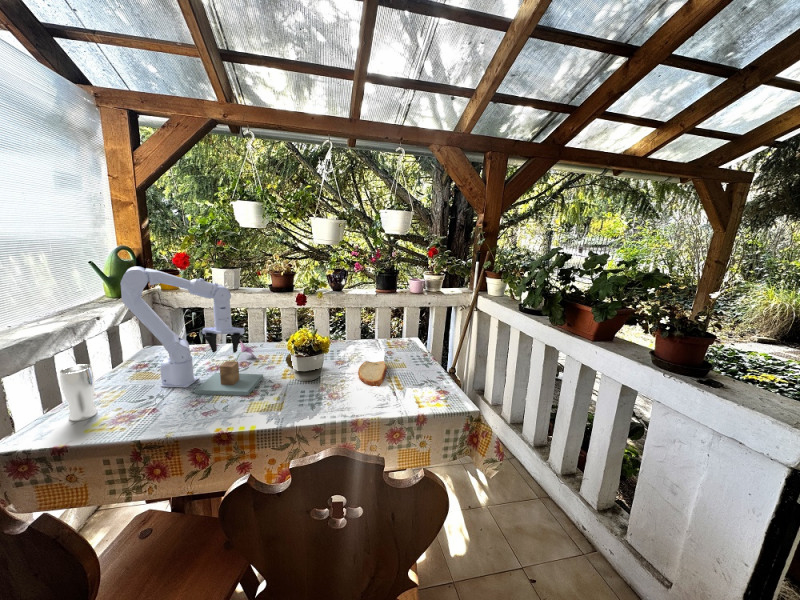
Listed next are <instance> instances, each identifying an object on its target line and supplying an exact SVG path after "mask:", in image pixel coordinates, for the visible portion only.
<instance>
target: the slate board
mask: <svg viewBox="0 0 800 600" xmlns="http://www.w3.org/2000/svg"><path fill="white" fill-rule="evenodd" d="M263 379H264V374H262V373H239V380H238V381H237V382H236V383H235V384H234V385H221V379H220V372H214V373H213V375H211V376H209V377H208V378H207V379H206V380H204V382H203V383H201V384H199V385H198V386H197V387H196V388H195V389H194V391H193V392H194V394H195V395H215V396H216V395H217V396H249V395H250V394H251V393H252V391H253V390H254V389H255V388H256V387H257V386H258V385H259V384H260V382H262V380H263Z"/></svg>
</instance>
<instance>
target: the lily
mask: <svg viewBox="0 0 800 600" xmlns="http://www.w3.org/2000/svg"><path fill="white" fill-rule="evenodd" d="M239 346H240V352H239V354H238V355H237V358H236V359H235V361H238V359H239V357H240V355H241V354H242V353H249V354H251V355H252V356H254V357H255V355H254V353H255V351H254V350H253V348H251V347H250V346H249V345H245V344H244V343H243V342H242V341H241V339H240V341H239Z"/></svg>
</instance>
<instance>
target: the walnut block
mask: <svg viewBox="0 0 800 600" xmlns="http://www.w3.org/2000/svg"><path fill="white" fill-rule="evenodd" d="M239 366H240V365H239V361H228V360H227V361H225V362H223V363H222V364H221V365H219V373H220V379H221V385H234V384H235V383H236V382H237V381H238V380H239V374H240V368H239Z"/></svg>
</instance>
